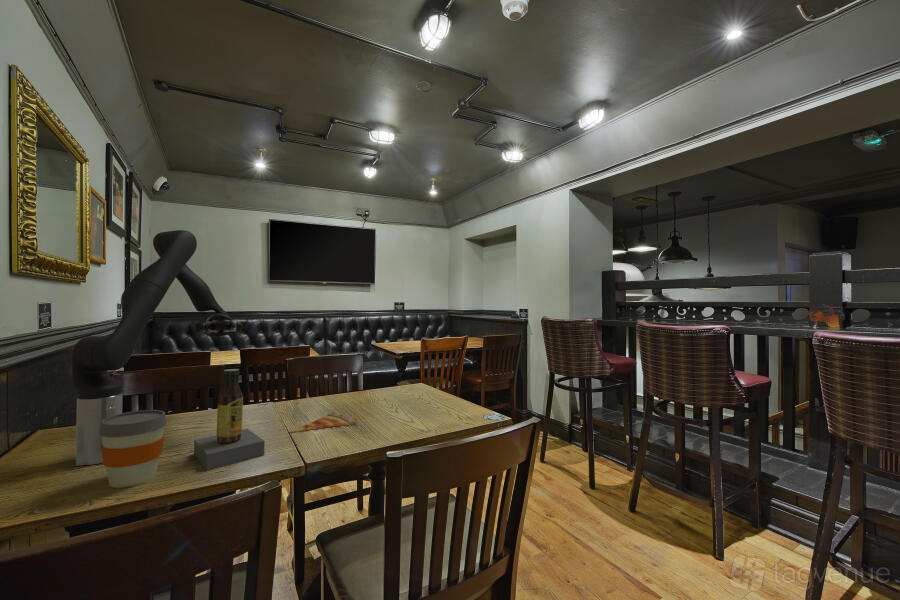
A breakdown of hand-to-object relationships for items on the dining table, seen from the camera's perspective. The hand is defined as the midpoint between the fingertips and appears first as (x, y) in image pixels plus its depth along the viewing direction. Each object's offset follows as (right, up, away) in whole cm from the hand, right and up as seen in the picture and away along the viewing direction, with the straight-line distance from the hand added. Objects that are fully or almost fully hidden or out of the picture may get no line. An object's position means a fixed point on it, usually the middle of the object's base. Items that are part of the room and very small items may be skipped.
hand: (223, 327), depth 119 cm
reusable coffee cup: (-7, -35, -25) cm, 44 cm away
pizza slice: (+24, -36, +19) cm, 47 cm away
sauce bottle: (+8, -31, -10) cm, 34 cm away
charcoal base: (+8, -35, -10) cm, 37 cm away
